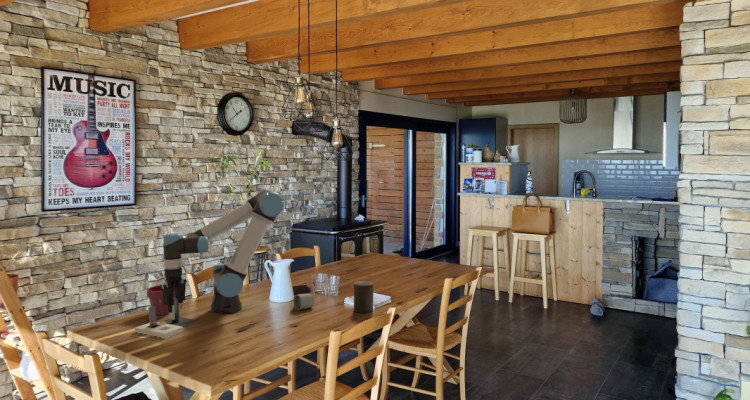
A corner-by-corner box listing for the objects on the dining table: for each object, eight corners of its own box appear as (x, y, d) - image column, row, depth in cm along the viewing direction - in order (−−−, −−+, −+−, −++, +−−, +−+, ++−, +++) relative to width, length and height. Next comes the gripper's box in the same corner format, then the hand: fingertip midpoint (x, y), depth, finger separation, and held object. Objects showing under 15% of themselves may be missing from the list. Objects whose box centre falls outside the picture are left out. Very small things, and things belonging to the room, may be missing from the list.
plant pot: (143, 313, 259) (141, 287, 258) (171, 307, 269) (169, 282, 268) (155, 319, 249) (153, 292, 248) (183, 312, 259) (182, 287, 258)
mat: (176, 317, 252) (176, 316, 252) (198, 320, 246) (198, 320, 246) (152, 325, 240) (152, 324, 240) (174, 329, 234) (174, 328, 234)
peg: (175, 320, 245) (174, 297, 244) (180, 321, 244) (179, 298, 243) (170, 322, 242) (169, 299, 242) (175, 323, 241) (174, 299, 240)
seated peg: (154, 330, 233) (152, 305, 232) (158, 331, 232) (157, 306, 231) (148, 332, 230) (147, 307, 230) (153, 333, 229) (152, 308, 228)
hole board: (154, 326, 238) (154, 321, 238) (183, 332, 230) (183, 326, 230) (135, 333, 229) (134, 327, 229) (164, 339, 221) (164, 333, 221)
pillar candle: (361, 314, 254) (361, 283, 253) (349, 309, 262) (350, 279, 261) (377, 311, 260) (377, 281, 259) (365, 306, 268) (366, 277, 267)
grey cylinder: (315, 308, 265) (314, 293, 264) (301, 311, 260) (300, 296, 259) (303, 304, 273) (303, 289, 273) (290, 307, 268) (289, 292, 267)
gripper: (180, 263, 250) (182, 312, 252) (152, 270, 236) (155, 321, 237) (192, 265, 247) (194, 314, 248) (164, 271, 232) (167, 324, 234)
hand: (175, 317), depth 243 cm, fingers closed on peg, 3 cm apart
